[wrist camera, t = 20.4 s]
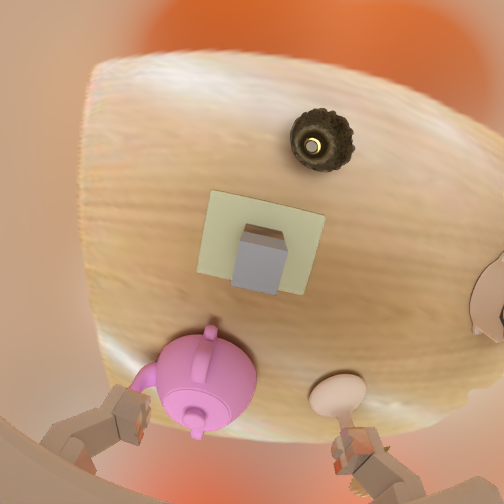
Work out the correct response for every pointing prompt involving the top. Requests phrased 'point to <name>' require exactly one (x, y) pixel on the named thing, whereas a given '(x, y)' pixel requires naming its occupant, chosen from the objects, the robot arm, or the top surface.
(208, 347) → the teapot
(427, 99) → the top surface
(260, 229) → the walnut block
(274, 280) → the slate block
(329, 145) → the dark brown round piece
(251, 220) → the base plate
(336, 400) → the flower in vase
